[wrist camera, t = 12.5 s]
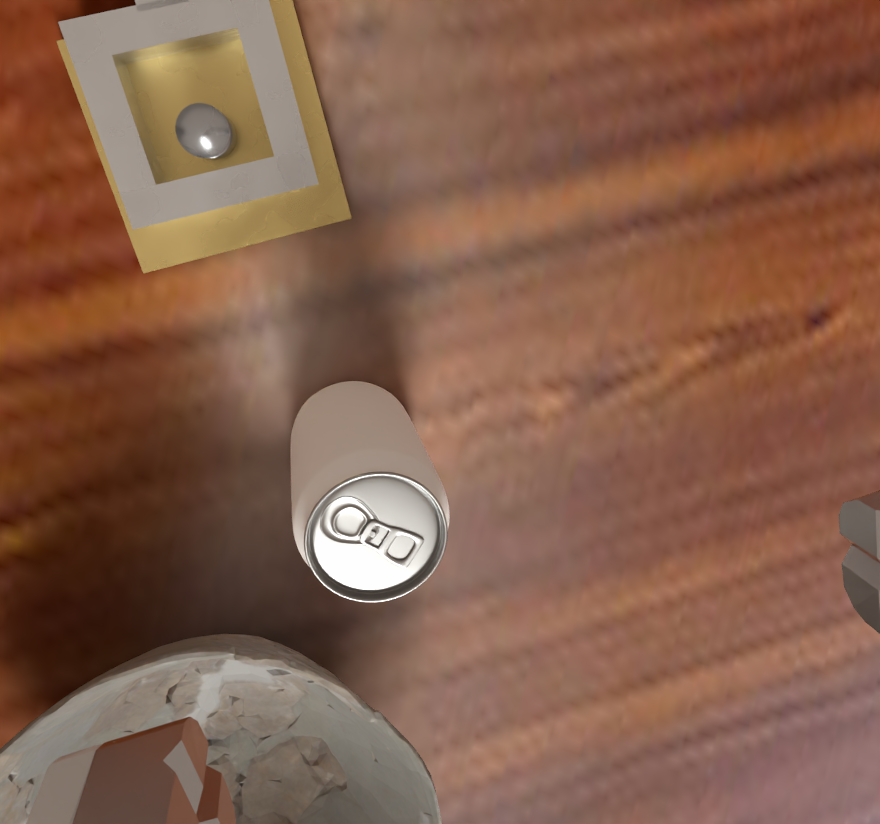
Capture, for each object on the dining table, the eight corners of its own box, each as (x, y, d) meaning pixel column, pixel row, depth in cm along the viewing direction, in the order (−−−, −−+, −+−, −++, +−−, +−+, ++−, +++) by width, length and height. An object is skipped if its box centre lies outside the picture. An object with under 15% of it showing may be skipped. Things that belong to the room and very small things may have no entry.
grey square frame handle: (21, -124, 30) (-6, -154, 27) (222, -163, 31) (216, -195, 28) (145, 224, 35) (132, 229, 32) (316, 182, 36) (318, 184, 33)
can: (329, 356, 39) (347, 432, 28) (433, 414, 41) (489, 506, 30) (267, 459, 40) (261, 573, 29) (372, 511, 42) (404, 635, 31)
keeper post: (288, -8, 34) (289, -42, 28) (350, 217, 37) (361, 226, 32) (62, 44, 33) (17, 19, 27) (146, 270, 36) (121, 289, 31)
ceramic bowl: (375, 509, 42) (400, 606, 33) (435, 822, 50) (470, 973, 41) (-47, 601, 39) (-149, 737, 30) (86, 919, 47) (36, 1106, 38)
